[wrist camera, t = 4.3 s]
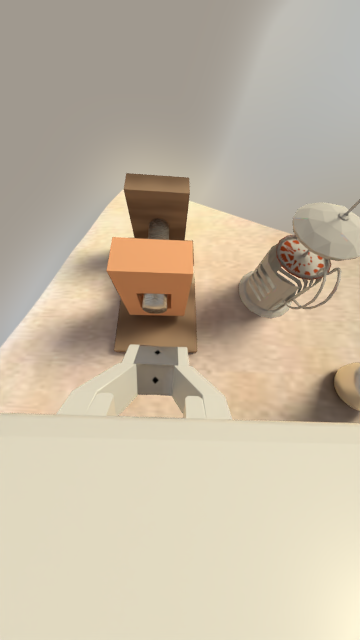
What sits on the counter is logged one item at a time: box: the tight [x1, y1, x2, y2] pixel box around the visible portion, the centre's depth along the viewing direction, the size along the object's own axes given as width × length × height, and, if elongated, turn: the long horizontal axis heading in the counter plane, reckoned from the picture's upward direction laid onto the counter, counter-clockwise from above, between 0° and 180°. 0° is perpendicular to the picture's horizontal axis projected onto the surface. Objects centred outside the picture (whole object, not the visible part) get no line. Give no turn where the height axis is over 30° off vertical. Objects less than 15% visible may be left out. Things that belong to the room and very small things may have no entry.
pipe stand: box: [114, 173, 197, 352], centre depth 25 cm, size 21×12×12 cm, turn 0°
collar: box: [107, 237, 193, 316], centre depth 22 cm, size 4×8×10 cm, turn 90°
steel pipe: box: [142, 218, 169, 314], centre depth 24 cm, size 15×3×3 cm, turn 0°
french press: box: [239, 200, 360, 318], centre depth 20 cm, size 10×12×25 cm
